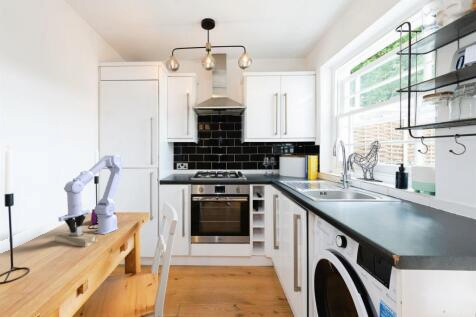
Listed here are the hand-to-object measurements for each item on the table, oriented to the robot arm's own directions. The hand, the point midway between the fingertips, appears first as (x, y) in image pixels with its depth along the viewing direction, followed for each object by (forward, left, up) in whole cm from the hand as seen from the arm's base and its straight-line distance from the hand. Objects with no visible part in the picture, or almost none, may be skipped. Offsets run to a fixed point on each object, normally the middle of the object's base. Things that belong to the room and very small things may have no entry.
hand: (75, 231), depth 118 cm
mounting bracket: (-32, -19, -6) cm, 38 cm away
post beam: (0, 0, -5) cm, 5 cm away
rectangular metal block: (0, 0, -5) cm, 5 cm away
